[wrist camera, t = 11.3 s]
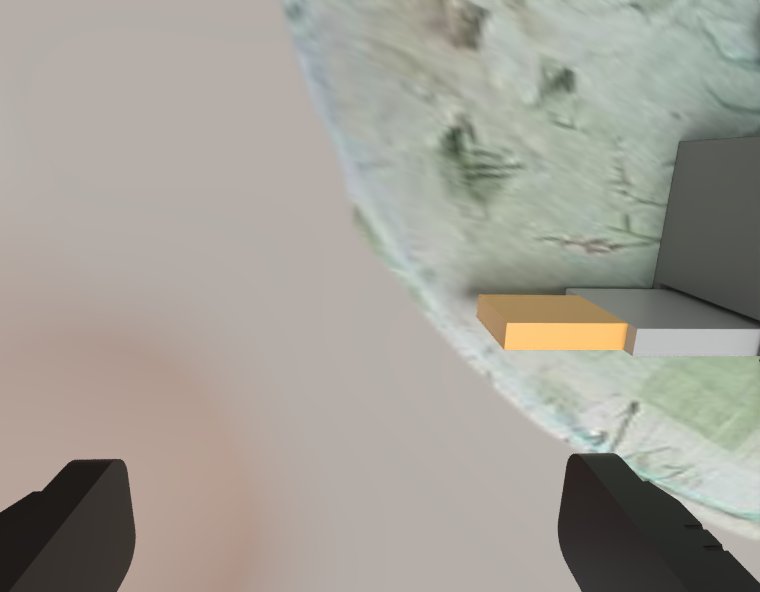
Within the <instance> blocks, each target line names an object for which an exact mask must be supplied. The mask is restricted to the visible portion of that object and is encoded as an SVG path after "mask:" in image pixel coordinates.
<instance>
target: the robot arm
mask: <svg viewBox="0 0 760 592" xmlns="http://www.w3.org/2000/svg"><path fill="white" fill-rule="evenodd" d="M135 536H136V535H135V525H134V517H133V509H132V502H131V495H130V487H129V480H128V472H127V467H126V465H125V463H124V461H123V460H121V459H93V460H92V459H91V460H73V461H71V462H69V463H68V464H67V465H66V466H65V467H64V468H63V469H62V470H61V471H60V472H59V473H58V474H57V476H56V477H55V478H54V479H53V480H52V481H51V482H50V483H49V484H48V485H47V486H46V487H45V488H44V489H43V490H42V491H38V492H32V493H30V494H29V495H27V496H26V497H24V498H22V499H21V500H19V501H18V502H16V503H15V504H13V505H12V506H10V507H8V508H7V509H5V510H4V511H2V512H0V592H117V590H118V588H119V587H120V585H121V583H122V581H123V579H124V577H125V576H126V574H127V572H128V569H129V567H130V564H131V561H132V558H133V553H134V548H135V538H136V537H135ZM558 538H559V543H560V548H561V551H562V554H563V557H564V559H565V561H566V563H567V565H568V567H569V569H570V571H571V573H572V574H573V576H574V578H575V580H576V582H577V583H578V585H579V587H580V589H581V591H582V592H760V583H759V582H758V581H757V580H756V579H755V578H754V577H753V576H752V575H751V574H750V573H749V572H748V571H747V570H746V569H745V568H744V567H743V566H742V565H741V564H740V563H739V562H738V561H737V560H736V559H735V558H734V557H733V555H732V554H731V553H730V552H729V551H724V550H723V548H722V544H721V543H720V542H719V541H718V540H717V539H716V538H715V537H714V536H713V535H712V534H711V533H710V532H709V531H708V530H704V529H703V527H702V524H701V523H700V522H699V521H698V520H697V519H696V518H695V517H694V516H693V515H692V514H691V513H690V512H689V511H688V510H687V509H686V508H685V507H684V506H683V505H682V503H681V502H680V501H678V500H677V499H675V498H674V497H672V496H671V495H669V494H667V493H666V492H664V491H663V490H661V489H660V488H658V487H657V486H655V485H653V484H652V483H650V482H649V481H642V480H641V479H640V478H639V477H638V476H637V475H636V474H635V472H634V471H633V470H632V469H631V468H630V467H629V466H628V465H627V464H626V463H625V462H624V461H623V460H622V458H621V457H619V456H618V455H617V454H614V453H588V454H572V455H571V456H570V457H569V459H568V462H567V466H566V473H565V479H564V486H563V493H562V499H561V506H560V512H559V519H558Z"/></svg>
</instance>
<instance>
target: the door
mask: <svg viewBox="0 0 760 592" xmlns="http://www.w3.org/2000/svg"><path fill="white" fill-rule="evenodd" d="M477 318H478V319H479V320H480V321H481V323H482V324H483V325H484V326H485V327H486V329H487V330H488V331H489V332H490V333H491V335H492V336H493V337H494V338H495V339H496V341H497V342H498V343H499V344H500V345H501V347H502V348H503V349H504V350H624V351H626V352H627V353H629V354H630V355H632V356H760V321H759V320H756V319H754V318H751V317H748V316H746V315H743V314H741V313H738V312H735V311H733V310H730V309H727V308H725V307H722V306H720V305H717V304H714V303H712V302H709V301H706V300H704V299H701V298H699V297H696V296H693V295H691V294H688V293H685V292H683V291H680V290H678V289H579V288H566V295H483V294H479V296H478V308H477Z"/></svg>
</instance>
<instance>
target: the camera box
mask: <svg viewBox="0 0 760 592" xmlns="http://www.w3.org/2000/svg"><path fill="white" fill-rule="evenodd" d="M652 289H678V290H680V291H683V292H685V293H688V294H691V295H693V296H696V297H699V298H701V299H704V300H706V301H709V302H712V303H714V304H717V305H720V306H722V307H725V308H727V309H730V310H733V311H735V312H738V313H741V314H743V315H746V316H748V317H751V318H754V319H756V320H759V321H760V136H756V137H741V138H727V139H712V140H698V141H683V142H679V147H678V153H677V158H676V164H675V169H674V174H673V180H672V185H671V191H670V196H669V201H668V207H667V212H666V218H665V223H664V229H663V234H662V239H661V245H660V250H659V256H658V261H657V266H656V272H655V277H654V283H653V288H652ZM759 361H760V360H759Z"/></svg>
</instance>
